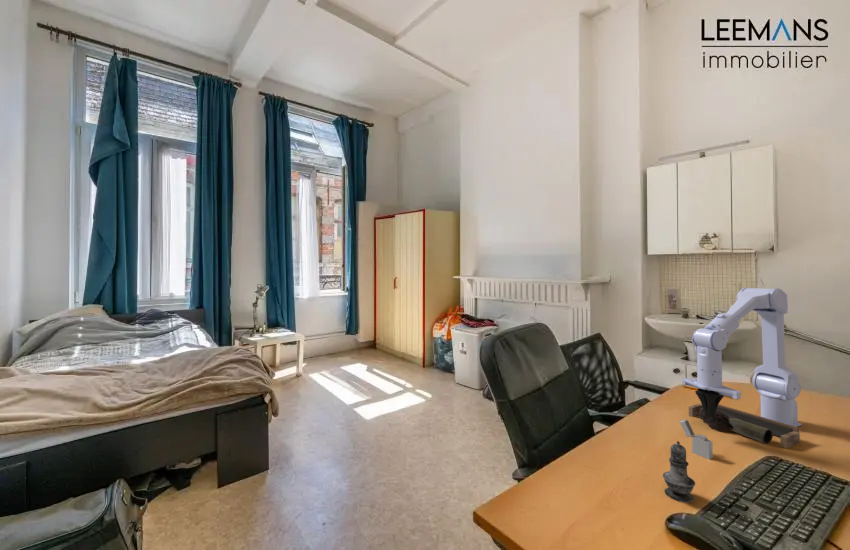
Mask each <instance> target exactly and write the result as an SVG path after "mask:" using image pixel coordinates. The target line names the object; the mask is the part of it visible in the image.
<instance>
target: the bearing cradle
mask: <svg viewBox="0 0 850 550" xmlns="http://www.w3.org/2000/svg"><path fill="white" fill-rule="evenodd" d="M701 408H703V406H702V403H701V402H700V403H696V404H694V405H689V406H688V416H689V415H690V417H692V418H693V417H696V415H697V416H699V411H700V409H701ZM716 410H717V411H720V412H722V413H724V414H725V415H727V416H728V417H731V418H736V419H739V420H742V421H745V422H749V423H751V424H754V425H757V426H760V427H764V428H766V429H769V430H771V431H772V435H773V436H776V437H778V438H780V447H781V448H783V449H789V448H791V447H792V448H793V446H796V445H799V444H800V443H801V442H800V441H801V439H800V434H801V433H800V428H799V426H797V427H795V426H791V425H788V424H784V423H781V422H778V421H774V420H771V419H767V418H764V417H761V415H756V414H753V413H750V412H747V411H743V410H739V409H737V408H733V407H729V406H725V405H723V404H720V403H719V404H718V406H717V409H716Z"/></svg>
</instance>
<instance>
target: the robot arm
mask: <svg viewBox="0 0 850 550" xmlns="http://www.w3.org/2000/svg"><path fill="white" fill-rule="evenodd" d="M736 299H737V300H736V301H735V302H734V303H733V304H732V306H731V307H730V308H729V309H728V310H727V312H725V313H724V312H722V313H721V312H720V313H718V314H717V315H716V316H715V317H714V318H713V319H712V320H710V322H709V323H708V324H706V325H705V327H702V328H698V329H696V330H694V331H693V333H692V337H691V342H692V345H693V346H694V351H695V353H696V362H697V364H696V365H697V367H696V369H697V371H696V372H697V373H696V374H697V375H696V376H697V377H696V378H697V379H694V378H693V379H692V378H689V377H688V378H687V377H684V378H681V385H683V386H687V387H688V386H689V387H693V388H695V389H697V390H695V395H696V396H697V398H698V400H699V401H700V404H701V403H702V406H703V408H704V412H705V415H706V416H709V417H713V416H715V412H716V409H717V406H718V404H719V405H720V402H721V401H722V400H723V398H724V397H729V398H732V399H734V400H740V399H742V391H741V390H736V389H733V388H730V387H728V386H725V385H723V355H722V354H723V351H724V349H726V347H727V345H728V341H729V339H730V336H731V335H732V334H733V333H734V332H735V331H737V329H738V328H739V327H740V322H739V321H740V320H742V318H744V317H745V316H747V315H748V314H749V313H750V312H752V311H753V312H756V313H757V314H758V315H759V316H760V317H761V341H762V344H761V345H762V364H761V365H758V366H757V367H754V373H753V376H752V385H753V387H754V389H755V390H757V394H760V417H764V418H767V419H771V420H774V421H778V422H781V423H784V424H788V425H791V426H795V427H800V426H802V425H803V424H802V423H801V422H799V421H798V418H799V417H798V415H799V414H798V413H799V411H798V407H799V406H798V402H797V401H796V398H798V397H799V396H800V394H801V390H802V388H801V387H802V386H801V383H800V381H799V377H798V376H799V375H798V373H797V372H795V371H794V370H792V369H791V368H790V367H788V366H787V365H786V342H785V340H786V339H785V338H786V337H785V315H786V314H788V311H789V310H788V309H789V308H788V307H789V305H788V294H787V293H786V292H785V291H784V290H783V289H781V288H779V287H778V288H777V287H776V288H765V287H764V288H762V287H761V288H758V287H757V288H756V287H742V288H741V289H740V290H739V291H738V292H737V295H736ZM722 350H723V351H722Z"/></svg>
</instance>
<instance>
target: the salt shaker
mask: <svg viewBox="0 0 850 550" xmlns="http://www.w3.org/2000/svg"><path fill="white" fill-rule="evenodd" d="M669 450H670V457H669V458H668V462H669V463H670V464H669V466H670V469H669V471H665V472H663V474H662V477H663V479H664V482H665V484H666V486H667V487H666V488H664V493H665V495H666V496H667V497H669V498H670V499H672V500H674V501H677V502H679V503H686V504H687V503H689V504H690V503H693V502H694V501H695V497H694V496H693V495H692V494H691V493H692V492H693V489H694V487H695V486H696V481H695V480H694V479H693V478H692V477H690V476H689V475H688V466H689V462H688V461H687V449H686V447H685V446H684V445H682V444H681V443H680V441H679V440H677V441H676V443H674V444H671V445H670V449H669Z"/></svg>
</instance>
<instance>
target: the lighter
mask: <svg viewBox="0 0 850 550" xmlns="http://www.w3.org/2000/svg"><path fill="white" fill-rule="evenodd" d="M679 423H680V425H681V428H682V430H683V432H684V434H685V436H686V437H687V438H691V453H692V454H695V455H697V456H699V457H702V458H705V459H707V460H711V459H714V458H713V456H714V455H713V453H714V452H713V450H714V449H713V441H712V440H709V439H708V437H707V435H704V434H701V433H697V434H696V435H695V432H694V430H693V428H692V425H691V424H690V422H689V420H688V419H682V420H680V421H679Z"/></svg>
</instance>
